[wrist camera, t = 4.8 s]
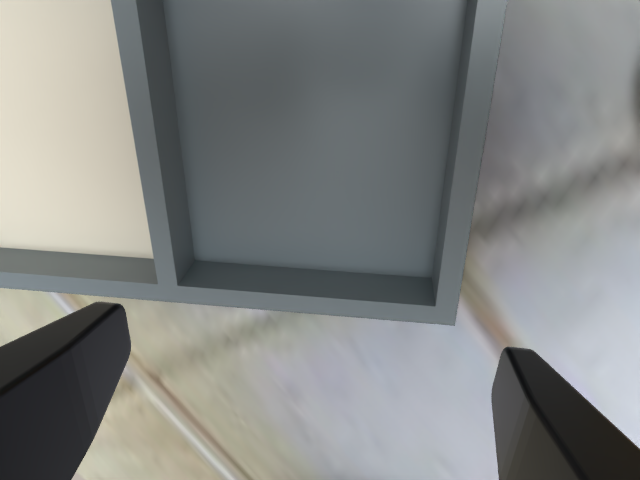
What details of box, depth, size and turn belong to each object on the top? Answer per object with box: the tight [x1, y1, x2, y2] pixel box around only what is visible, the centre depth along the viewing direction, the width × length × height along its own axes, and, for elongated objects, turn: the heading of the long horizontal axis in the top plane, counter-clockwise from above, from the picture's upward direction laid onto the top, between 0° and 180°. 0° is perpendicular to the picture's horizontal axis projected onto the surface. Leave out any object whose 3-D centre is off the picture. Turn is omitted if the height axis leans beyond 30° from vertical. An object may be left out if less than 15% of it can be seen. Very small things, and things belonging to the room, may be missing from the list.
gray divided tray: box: [0, 0, 507, 326], centre depth 19 cm, size 13×22×2 cm, turn 90°
